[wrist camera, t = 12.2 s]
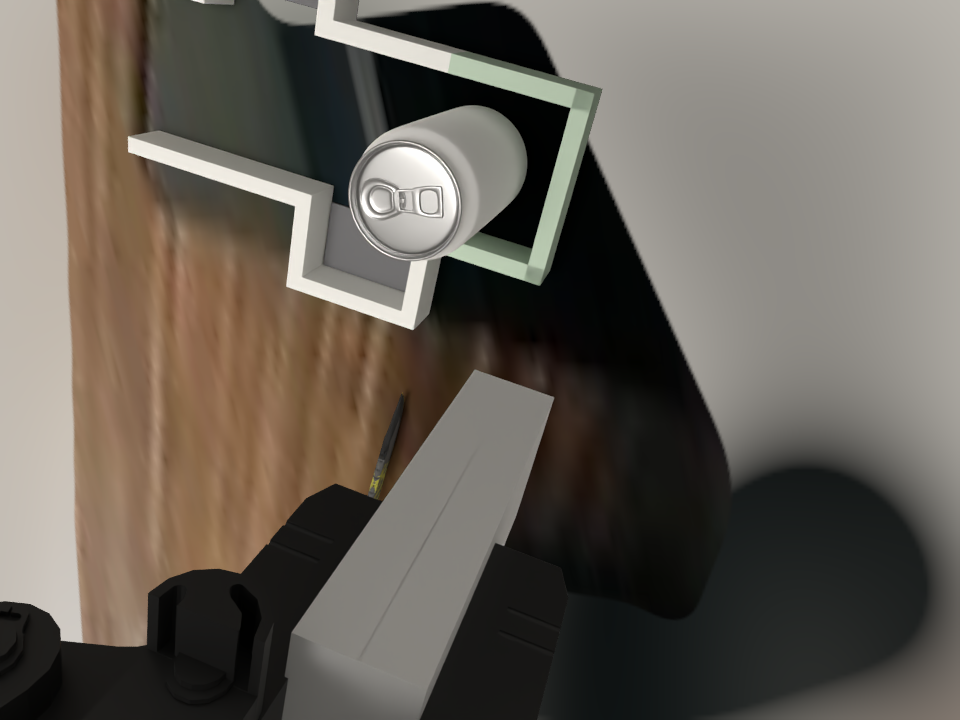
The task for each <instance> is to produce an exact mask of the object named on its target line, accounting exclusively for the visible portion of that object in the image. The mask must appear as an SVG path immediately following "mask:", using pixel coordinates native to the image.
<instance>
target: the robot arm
mask: <svg viewBox="0 0 960 720" xmlns="http://www.w3.org/2000/svg"><path fill="white" fill-rule="evenodd" d="M553 399H554V397H551V396H549V395H546V394H543V393H540V392H537V391H534V390H531V389H529V388H526V387H523V386H520V385H517V384H514V383H511V382H509V381H506V380H503V379H500V378H497V377H494V376H491V375H488V374H486V373H483V372H480V371H477V370H474V372H473V373H472V375H471V376H470V377H469V379H468V380H467V382H466V383H465V385H464V386H463V387H462V389H461V390H460V392H459V393H458V395H457V396H456V398H455V399H454V400H453V402H452V403H451V405H450V406H449V408H448V409H447V410H446V412H445V413H444V415H443V416H442V418H441V419H440V420H439V422H438V423H437V425H436V426H435V428H434V429H433V430H432V432H431V433H430V435H429V436H428V438H427V439H426V441H425V442H424V443H423V445H422V446H421V448H420V449H419V451H418V452H417V453H416V455H415V456H414V458H413V459H412V461H411V462H410V463H409V465H408V466H407V468H406V469H405V471H404V472H403V473H402V475H401V476H400V478H399V479H398V481H397V482H396V484H395V485H394V486H393V488H392V489H391V491H390V492H389V494H388V495H387V496H386V498H385V499H384V501H383V502H382V501H380V500H377V499H374V498H372V497H369V496H367V495H364V494H361V493H359V492H356V491H354V490H351V489H348V488H346V487H343V486H341V485H338V484H334V485H332V486H330V487H328V488H326V489H324V490H322V491H320V492H318V493H316V494H314V495H312V496H310V497H308V498H306V499H305V500H304V502H303V503H302V504H301V505H300V506H299V507H298V509H297V510H296V511H295V512H294V513H293V514H292V515H291V517H290V518H289V519H288V520H287V522H286V525H285V526H284V525H283V526H282V527H281V528H280V529H279V531H278V532H277V533H276V534H275V535H274V536H273V537H272V539H271V541H270V543H269V545H267V544H266V546H265V547H264V548H263V549H262V550H261V551H260V553H259V554H258V555H257V556H256V557H255V558H254V559H253V561H252V562H251V563H250V564H249V565H248V566H247V568H246V569H245V570H244V571H243V572H242V573H241V574H239V573H235V572H231V571H226V570H222V569H206V570H192V571H189V572H187V573H184V574H181V575H178V576H175V577H172V578H169V579H167V580H166V581H164V582H163V583H162V584H160V585H159V586H157V587H156V588H155V589H153V590H152V591H150V592H149V593H148V627H147V645H144V646H139V647H116V646H106V645H96V644H87V643H76V642H67V641H61V637H60V628H59V627H58V625H57V624H56V623H55V621H54V620H53V618H52V617H51V616H50V614H49V613H47V612H45V611H43V610H41V609H39V608H37V607H35V606H33V605H31V604H25V603H15V602H6V601H4V602H0V720H537V718H538V714H539V710H540V706H541V702H542V698H543V694H544V690H545V687H546V683H547V679H548V675H549V671H550V667H551V663H552V659H553V654H554V652H555V648H556V644H557V640H558V636H559V631H560V628H561V625H562V621H563V617H564V613H565V609H566V606H567V602H568V595H567V591H566V587H565V583H564V579H563V575H562V571H561V568H560V567H557V566H554V565H552V564H549V563H547V562H544V561H541V560H539V559H536V558H534V557H531V556H528V555H526V554H523V553H521V552H518V551H515V550H513V549H510V548H508V547H505V546H504V544H505V542H506V539H507V537H508V534H509V532H510V529H511V527H512V524H513V522H514V520H515V517H516V514H517V511H518V508H519V505H520V502H521V499H522V496H523V493H524V490H525V486H526V483H527V480H528V477H529V474H530V471H531V468H532V465H533V462H534V458H535V455H536V452H537V449H538V446H539V443H540V440H541V437H542V434H543V431H544V427H545V424H546V421H547V418H548V415H549V412H550V409H551V406H552V403H553Z"/></svg>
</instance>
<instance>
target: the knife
mask: <svg viewBox="0 0 960 720" xmlns="http://www.w3.org/2000/svg"><path fill="white" fill-rule="evenodd" d="M403 407H404V396H403V393H402V394H401V397H400V399H399V402H398V405H397V408H396V410H395V412H394V415H393V418H392V421H391V424H390V426H389V429H388V431H387V433H386V436H385V438H384V441H383V445H382V448H381V451H380V455H379V458H378V462H377V465H376V469H375V472H374V476H373V479H372V483H371V486H370V490H369V493H368V496H369V497H372V498H374V499H377V500H378V499H379V495H380V492H381V488H382V485H383V482H384V478H385V475H386V471H387V468H388V464H389V461H390V458H391V454H392V451H393V447H394V444H395V440H396V437H397V433H398V429H399V426H400V422H401V417H402V412H403Z"/></svg>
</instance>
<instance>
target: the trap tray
mask: <svg viewBox="0 0 960 720" xmlns="http://www.w3.org/2000/svg"><path fill="white" fill-rule="evenodd" d="M193 1H197V2H200V3H204V4H229V5H234V0H193ZM287 1H291V2H294V3H297V4H301V5H305V6H308V7H312V8H316V9H317V18H316V27H315V35H316V36H320V37H323V38H327V39H330V40H334V41H337V42H341V43H345V44H348V45H352V46H355V47H359V48H362V49H366V50H369V51H373V52H376V53H380V54H383V55H387V56H390V57H394V58H397V59H401V60H404V61H408V62H411V63H415V64H418V65H422V66H425V67H429V68H432V69H436V70H439V71H443V72H446V73H450V74H453V75H457V76H461V77H464V78H468V79H471V80H475V81H478V82H482V83H485V84H489V85H492V86H496V87H499V88H503V89H506V90H510V91H513V92H517V93H520V94H524V95H527V96H531V97H534V98H538V99H541V100H545V101H548V102H552V103H555V104H559V105H562V106H566V107H569V108H571V110H570V113H569V117H568V121H567V124H566V128H565V132H564V135H563V139H562V143H561V146H560V150H559V154H558V157H557V161H556V165H555V168H554V172H553V176H552V179H551V183H550V186H549V190H548V194H547V197H546V201H545V205H544V208H543V212H542V216H541V219H540V223H539V227H538V230H537V234H536V238H535V241H534V245H533V249H531V248H528V247H525V246H522V245H519V244H515V243H512V242H509V241H506V240H503V239H500V238H496V237H493V236H490V235H487V234H484V233H481V232H477V233H476V234H475V235H474V236H472V237H471V238H470V239H469V240H468V241H467V242H465V243H464V244H463V245H462V246H460V247H459V248H458V249H456V250H455V251H453V252H451V253H450V254H448V255H447V256H450V257H453V258H456V259H459V260H463V261H466V262H469V263H472V264H475V265H478V266H481V267H484V268H487V269H490V270H493V271H496V272H499V273H503V274H506V275H509V276H512V277H515V278H518V279H521V280H524V281H527V282H530V283H533V284H536V285H541V283H542V282H543V280H544V279H545V277H546V276H547V274H548V273H549V271H550V269H551V265H552V262H553V258H554V255H555V251H556V248H557V244H558V241H559V238H560V234H561V231H562V227H563V224H564V220H565V217H566V213H567V210H568V207H569V203H570V200H571V196H572V193H573V189H574V186H575V182H576V179H577V175H578V172H579V169H580V165H581V162H582V158H583V155H584V151H585V148H586V144H587V141H588V138H589V134H590V131H591V127H592V123H593V120H594V117H595V113H596V110H597V106H598V103H599V100H600V96H601V93H602V89H600V88H597V87H593V86H590V85H586V84H582V83H579V82H575V81H572V80H568V79H565V78H561V77H558V76H554V75H550V74H547V73H543V72H540V71H536V70H532V69H529V68H525V67H522V66H518V65H515V64H511V63H507V62H504V61H500V60H497V59H493V58H489V57H486V56H482V55H479V54H475V53H471V52H468V51H464V50H461V49H457V48H453V47H450V46H446V45H443V44H439V43H436V42H432V41H428V40H425V39H421V38H418V37H414V36H410V35H407V34H403V33H400V32H396V31H392V30H389V29H385V28H382V27H378V26H375V25H371V24H367V23H364V22H360V21H357V20H356V19H357V12H358V4H359V0H287ZM128 152H130V153H133V154H136V155H139V156H142V157H145V158H148V159H151V160H155V161H158V162H161V163H164V164H167V165H170V166H173V167H176V168H179V169H182V170H185V171H188V172H192V173H195V174H198V175H201V176H204V177H207V178H210V179H213V180H216V181H219V182H222V183H225V184H228V185H232V186H235V187H238V188H241V189H244V190H247V191H250V192H253V193H256V194H259V195H262V196H265V197H268V198H272V199H275V200H278V201H281V202H284V203H287V204H290V205H293V206H295V214H294V223H293V232H292V241H291V250H290V259H289V268H288V276H287V285H286V287H289V288H292V289H295V290H298V291H301V292H304V293H307V294H310V295H312V296H315V297H318V298H321V299H324V300H327V301H330V302H333V303H336V304H339V305H342V306H344V307H347V308H350V309H353V310H356V311H359V312H362V313H365V314H368V315H371V316H374V317H376V318H379V319H382V320H385V321H388V322H391V323H394V324H397V325H400V326H403V327H406V328H408V329H411V330H414V329H415V328H416V327H417V326H418V325H419V324H420V323H421V322H422V321H423V320H424V319H425V318H426V317H427V316H428V315H429V312H430V308H431V303H432V298H433V294H434V289H435V284H436V280H437V275H438V270H439V266H440V261H441V257H440V258H437V259H432V260H420V261H402V260H397V259H394V258H391V257H388V256H386V255H384V254H383V253H381V252H379V251H378V250H376V249H375V248H374V247H373V246H371V245H370V244H369V243H368V242H367V241H366V239H365V238H364V237H363V236H362V234H361V233H360V232H359V230H358V228H357V226H356V224H355V222H354V220H353V217H352V215H351V211H350V207H347V206H344V205H341V204H338V203H335V202H332V196H333V189H334V186H333V185H329V184H326V183H323V182H320V181H317V180H314V179H311V178H307V177H304V176H301V175H298V174H295V173H292V172H288V171H285V170H282V169H279V168H276V167H273V166H270V165H266V164H263V163H260V162H257V161H254V160H251V159H248V158H244V157H241V156H238V155H235V154H232V153H229V152H225V151H222V150H219V149H216V148H213V147H210V146H207V145H203V144H200V143H197V142H194V141H191V140H188V139H184V138H181V137H178V136H175V135H172V134H169V133H166V132H162V131H154V132H149V133H144V134H139V135H133V136H128ZM331 204H332V205H331ZM330 211H331V212H330ZM329 219H330V220H329ZM328 226H329V227H328ZM327 233H328V234H327ZM326 241H327V242H326ZM325 248H326V249H325ZM324 256H325V257H324ZM323 263H324V264H323Z"/></svg>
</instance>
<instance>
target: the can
mask: <svg viewBox="0 0 960 720" xmlns="http://www.w3.org/2000/svg"><path fill="white" fill-rule="evenodd" d="M526 172H527V154H526V149H525V145H524V142H523V140H522V137H521V135H520V134H519V132H518V130H517V129H516V127H515V126H514V125H513V124H512V123H511V122H510V121H509V120H508V119H507V118H506V117H505V116H504V115H502V114H501V113H499V112H497V111H495V110H493V109H491V108H488V107H484V106H477V105H470V106H462V107H458V108H455V109H451V110H448V111H445V112H442V113H439V114H436V115H433V116H430V117H427V118H424V119H421V120H418V121H415V122H412V123H409V124H406V125H403V126H400V127H398V128H395V129H393V130H390V131H388V132H386V133H384V134H383V135H381V136H380V137H378V138H377V139H376V140H375V141H374V142H373V143H372V144H371V145H370V146H369V147H368V148H367V149H366V151H365V152H364V154H363V156H362V157H361V158H360V160H359V161H358V163H357V164H356V166H355V168H354V170H353V172H352V175H351V178H350V182H349V190H348V199H349V207H350V211H351V215H352V217H353V220H354V222H355V224H356V226H357V228H358V230H359V232H360V233H361V234H362V236H363V237H364V238H365V239H366V241H367V242H368V243H369V244H370V245H371V246H373V247H374V248H375V249H376V250H378V251H379V252H381V253H383V254H384V255H386V256H388V257H391V258H394V259H397V260H402V261H420V260H432V259H437V258H440V257H443V256H445V255H448V254H450V253H451V252H453V251H455V250H456V249H458V248H459V247H460V246H462V245H463V244H464V243H465V242H467V241H468V240H469V239H470V238H471V237H472V236H474V235H475V234H476V233H477V232H478V231H479V230H480V229H482V228H483V227H484V226H485V225H486V224H487V223H489V222H490V221H491V220H492V219H493V218H494V217H495V216H496V215H498V214H499V213H500V212H501V211H502V210H503V209H504V208H505V207H506V206H507V205H509V204H510V203H511V202H512V200H513V199H514V198H515V197H516V196H517V194H518V193H519V191H520V189H521V188H522V185H523V183H524V180H525V177H526Z"/></svg>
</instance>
